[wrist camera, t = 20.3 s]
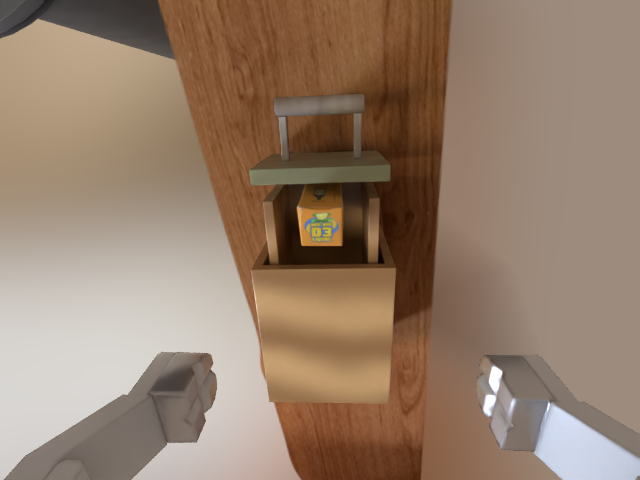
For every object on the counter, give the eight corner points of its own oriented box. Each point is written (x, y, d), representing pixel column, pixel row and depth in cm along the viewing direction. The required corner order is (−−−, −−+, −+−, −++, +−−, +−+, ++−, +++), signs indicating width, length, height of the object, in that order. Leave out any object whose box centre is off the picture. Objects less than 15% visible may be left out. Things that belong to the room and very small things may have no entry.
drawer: (266, 100, 30) (239, 97, 22) (378, 94, 29) (394, 89, 21) (283, 274, 37) (267, 320, 29) (374, 272, 36) (384, 320, 28)
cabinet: (274, 225, 36) (250, 269, 26) (380, 223, 35) (396, 267, 25) (285, 332, 41) (269, 402, 31) (376, 332, 40) (388, 403, 31)
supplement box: (309, 208, 33) (297, 247, 23) (308, 174, 31) (295, 201, 22) (341, 208, 32) (343, 248, 23) (342, 174, 31) (343, 201, 22)
